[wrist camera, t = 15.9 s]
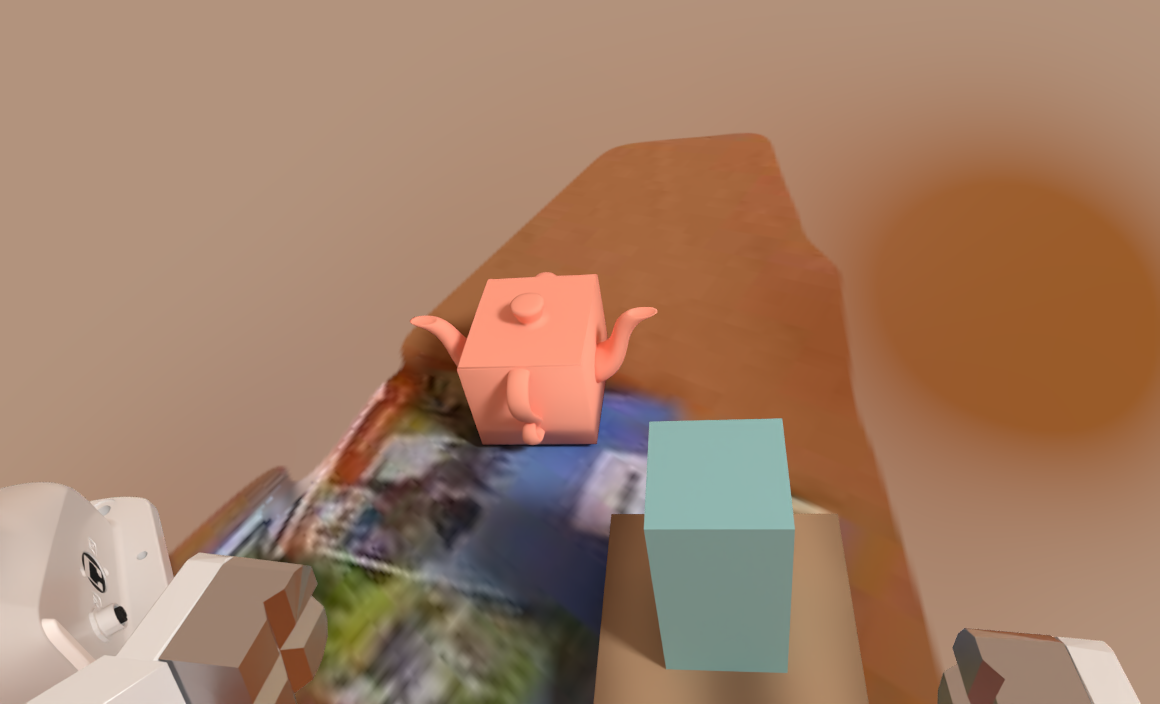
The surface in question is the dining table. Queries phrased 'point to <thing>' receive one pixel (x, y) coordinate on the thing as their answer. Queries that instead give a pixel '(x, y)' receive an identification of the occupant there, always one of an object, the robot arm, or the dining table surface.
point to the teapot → (537, 358)
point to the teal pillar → (720, 543)
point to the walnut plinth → (730, 698)
